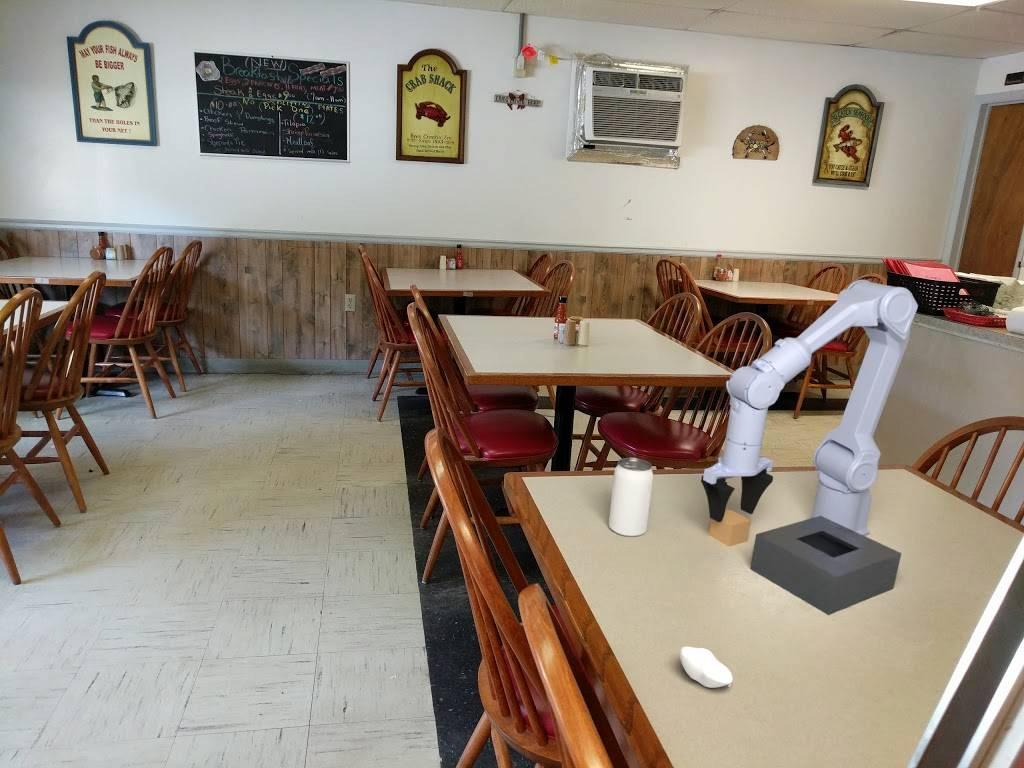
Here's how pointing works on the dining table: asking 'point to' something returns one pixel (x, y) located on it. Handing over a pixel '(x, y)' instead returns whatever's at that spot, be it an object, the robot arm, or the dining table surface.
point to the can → (631, 497)
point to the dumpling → (705, 667)
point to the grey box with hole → (825, 563)
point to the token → (730, 529)
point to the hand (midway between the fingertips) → (731, 515)
